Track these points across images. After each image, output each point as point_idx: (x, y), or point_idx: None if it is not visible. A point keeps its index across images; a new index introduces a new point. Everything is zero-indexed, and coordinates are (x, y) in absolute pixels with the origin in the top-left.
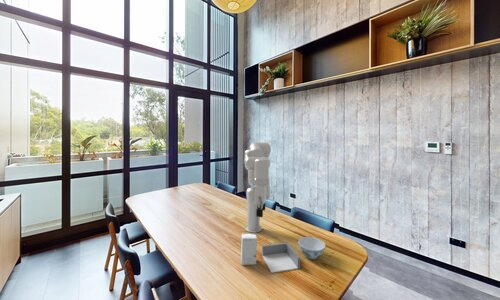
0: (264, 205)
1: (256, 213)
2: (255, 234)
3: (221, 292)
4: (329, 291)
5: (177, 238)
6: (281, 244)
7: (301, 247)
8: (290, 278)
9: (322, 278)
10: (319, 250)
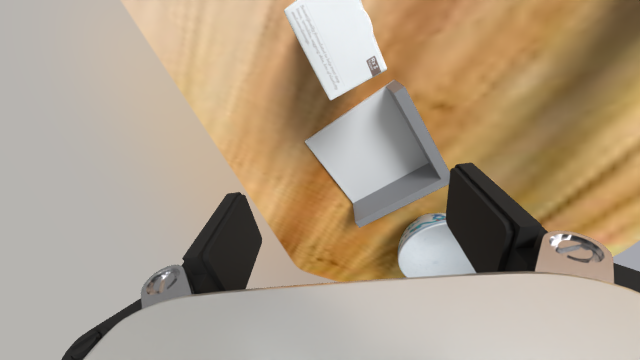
0: (475, 267)
1: (213, 213)
2: (373, 74)
3: (144, 15)
4: (301, 257)
5: None
6: (432, 163)
7: (416, 229)
8: (306, 190)
9: (336, 248)
10: (403, 273)
